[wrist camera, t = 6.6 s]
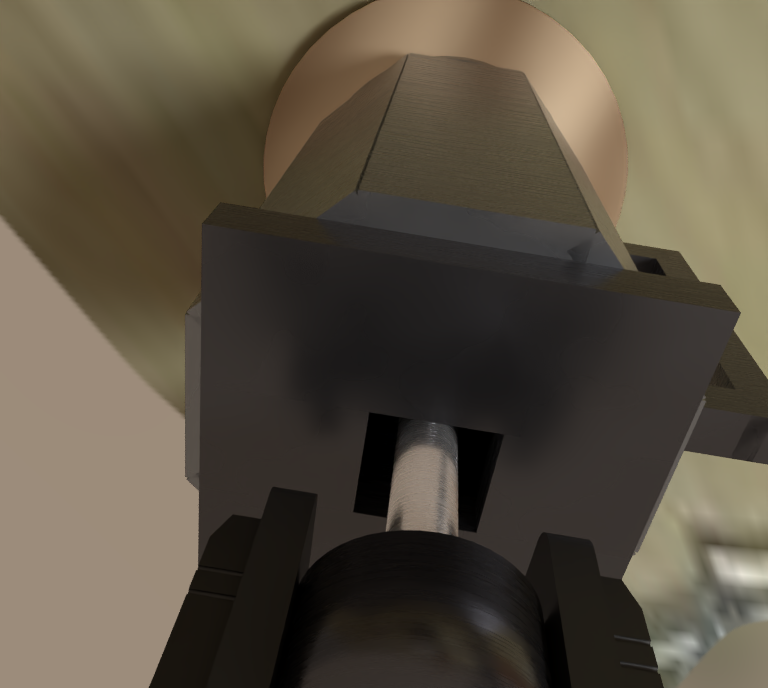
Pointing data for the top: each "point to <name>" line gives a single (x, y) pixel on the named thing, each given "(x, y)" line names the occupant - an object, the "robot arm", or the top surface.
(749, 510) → the top surface
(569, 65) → the disc
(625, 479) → the carafe
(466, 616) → the plunger
